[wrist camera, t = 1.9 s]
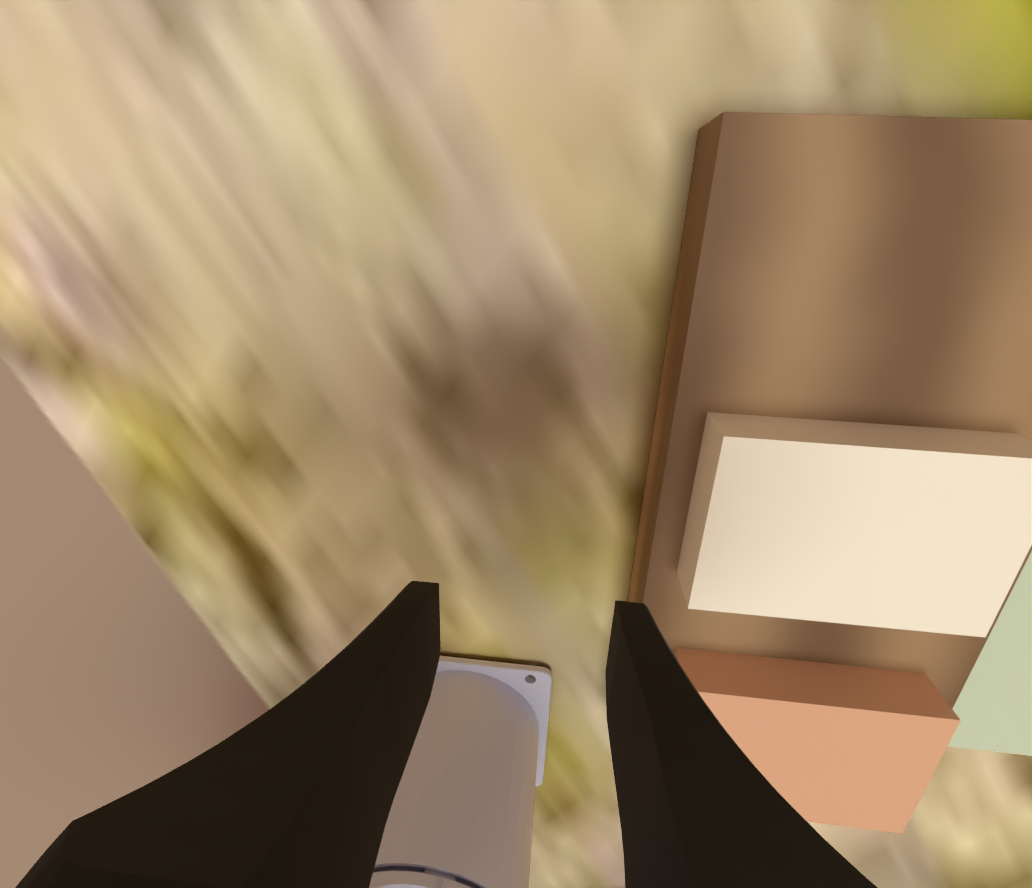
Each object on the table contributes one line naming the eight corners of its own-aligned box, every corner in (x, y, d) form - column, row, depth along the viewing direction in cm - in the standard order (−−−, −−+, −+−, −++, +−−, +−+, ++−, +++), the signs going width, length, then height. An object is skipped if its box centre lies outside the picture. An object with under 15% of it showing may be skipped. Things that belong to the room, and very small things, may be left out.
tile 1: (677, 570, 19) (687, 608, 17) (707, 412, 17) (723, 436, 15) (944, 595, 18) (985, 637, 16) (1016, 433, 16) (1073, 461, 14)
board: (612, 701, 26) (617, 759, 23) (698, 129, 16) (724, 111, 14) (872, 730, 25) (909, 794, 22) (1125, 141, 15) (1245, 125, 13)
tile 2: (653, 755, 23) (660, 802, 21) (675, 647, 20) (685, 690, 18) (875, 782, 22) (902, 833, 20) (925, 673, 20) (960, 720, 18)
